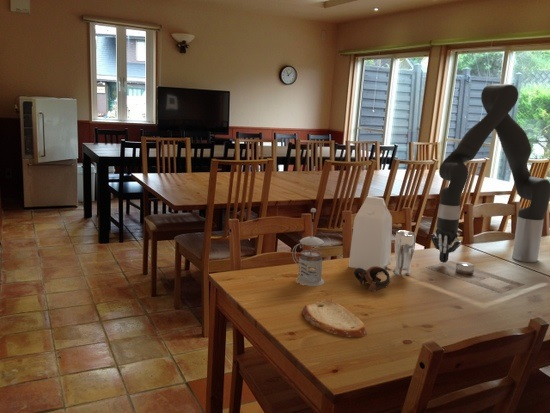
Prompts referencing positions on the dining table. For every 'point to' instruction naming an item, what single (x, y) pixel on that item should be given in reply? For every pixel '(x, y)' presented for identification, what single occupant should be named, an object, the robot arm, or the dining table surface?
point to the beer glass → (404, 252)
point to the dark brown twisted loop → (372, 277)
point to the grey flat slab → (474, 276)
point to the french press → (310, 261)
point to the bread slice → (334, 319)
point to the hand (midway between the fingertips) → (443, 261)
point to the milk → (371, 235)
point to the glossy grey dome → (464, 268)
